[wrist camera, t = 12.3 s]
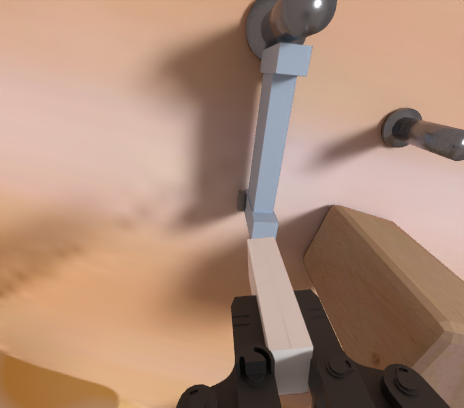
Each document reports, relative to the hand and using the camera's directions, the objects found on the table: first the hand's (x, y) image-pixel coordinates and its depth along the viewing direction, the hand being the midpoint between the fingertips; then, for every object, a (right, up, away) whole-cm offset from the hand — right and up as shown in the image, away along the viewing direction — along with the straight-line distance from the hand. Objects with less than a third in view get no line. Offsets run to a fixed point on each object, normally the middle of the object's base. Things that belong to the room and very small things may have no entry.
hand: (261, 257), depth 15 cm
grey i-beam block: (+1, +11, +16) cm, 19 cm away
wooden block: (+14, -2, +23) cm, 27 cm away
